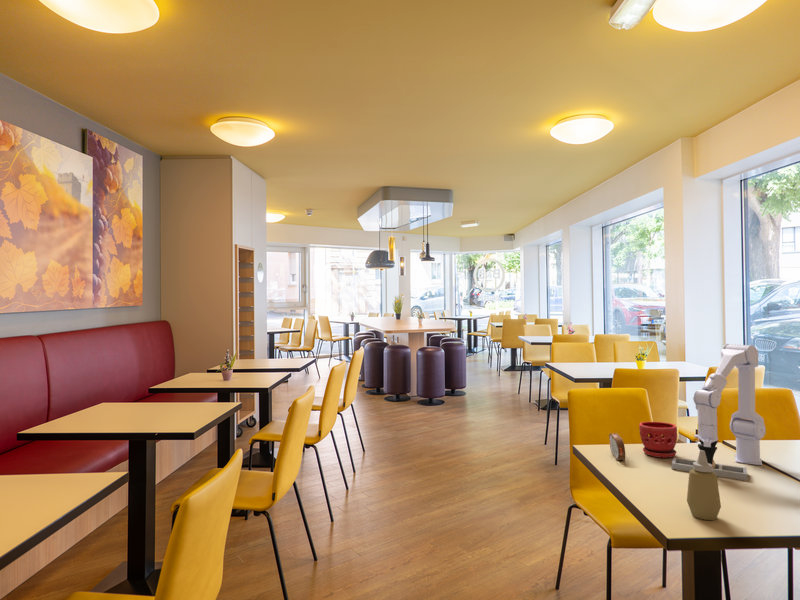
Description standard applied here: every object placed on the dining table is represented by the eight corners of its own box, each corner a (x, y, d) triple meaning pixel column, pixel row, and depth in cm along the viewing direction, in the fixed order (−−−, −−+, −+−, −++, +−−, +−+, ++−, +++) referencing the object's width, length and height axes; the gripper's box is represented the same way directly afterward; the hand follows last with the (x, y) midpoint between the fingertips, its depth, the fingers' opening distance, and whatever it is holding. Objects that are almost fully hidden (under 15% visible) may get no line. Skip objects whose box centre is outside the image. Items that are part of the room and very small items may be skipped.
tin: (626, 463, 180) (626, 440, 180) (617, 463, 180) (617, 440, 180) (616, 451, 194) (616, 430, 194) (608, 451, 195) (608, 430, 195)
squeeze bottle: (680, 510, 137) (678, 447, 137) (707, 509, 138) (705, 446, 138) (700, 523, 129) (698, 455, 129) (728, 522, 129) (727, 454, 130)
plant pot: (678, 452, 192) (677, 422, 192) (676, 461, 181) (675, 429, 181) (641, 448, 199) (641, 418, 199) (638, 456, 188) (637, 425, 188)
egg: (701, 467, 172) (701, 454, 173) (715, 469, 170) (714, 456, 170) (701, 470, 169) (701, 457, 169) (715, 472, 167) (714, 459, 167)
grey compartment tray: (673, 463, 179) (673, 457, 179) (746, 473, 167) (746, 467, 167) (671, 469, 172) (671, 463, 173) (747, 480, 160) (747, 474, 160)
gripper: (695, 418, 178) (696, 455, 178) (693, 426, 166) (693, 466, 166) (718, 421, 174) (719, 458, 174) (717, 429, 162) (718, 470, 162)
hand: (708, 462), depth 170 cm, fingers open, 7 cm apart
